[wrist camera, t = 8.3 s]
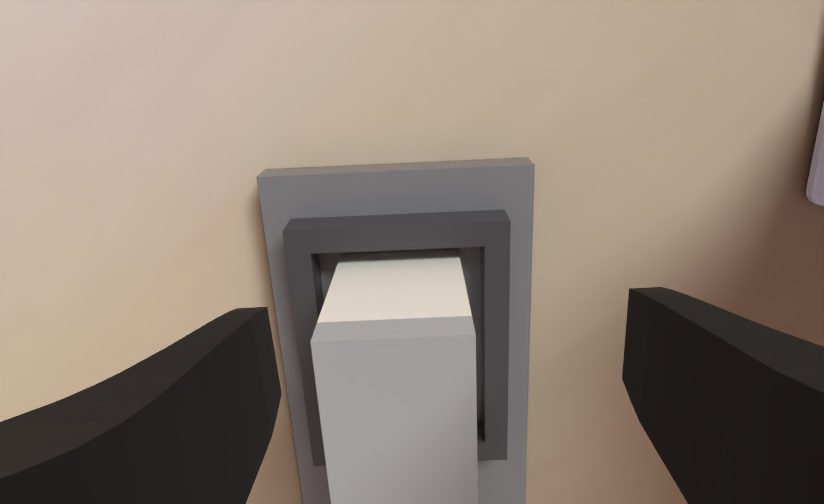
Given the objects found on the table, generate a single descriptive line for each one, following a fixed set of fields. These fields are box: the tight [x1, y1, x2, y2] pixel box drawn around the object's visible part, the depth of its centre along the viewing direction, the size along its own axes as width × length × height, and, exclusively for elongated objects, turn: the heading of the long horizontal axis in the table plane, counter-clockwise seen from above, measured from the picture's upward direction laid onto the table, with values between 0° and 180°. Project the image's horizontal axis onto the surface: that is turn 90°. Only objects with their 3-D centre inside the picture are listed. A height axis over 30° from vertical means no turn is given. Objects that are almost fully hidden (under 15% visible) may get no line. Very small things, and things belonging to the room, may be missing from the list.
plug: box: [310, 249, 478, 504], centre depth 18 cm, size 4×6×6 cm, turn 3°
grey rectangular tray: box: [257, 158, 535, 504], centre depth 21 cm, size 9×20×5 cm, turn 3°
